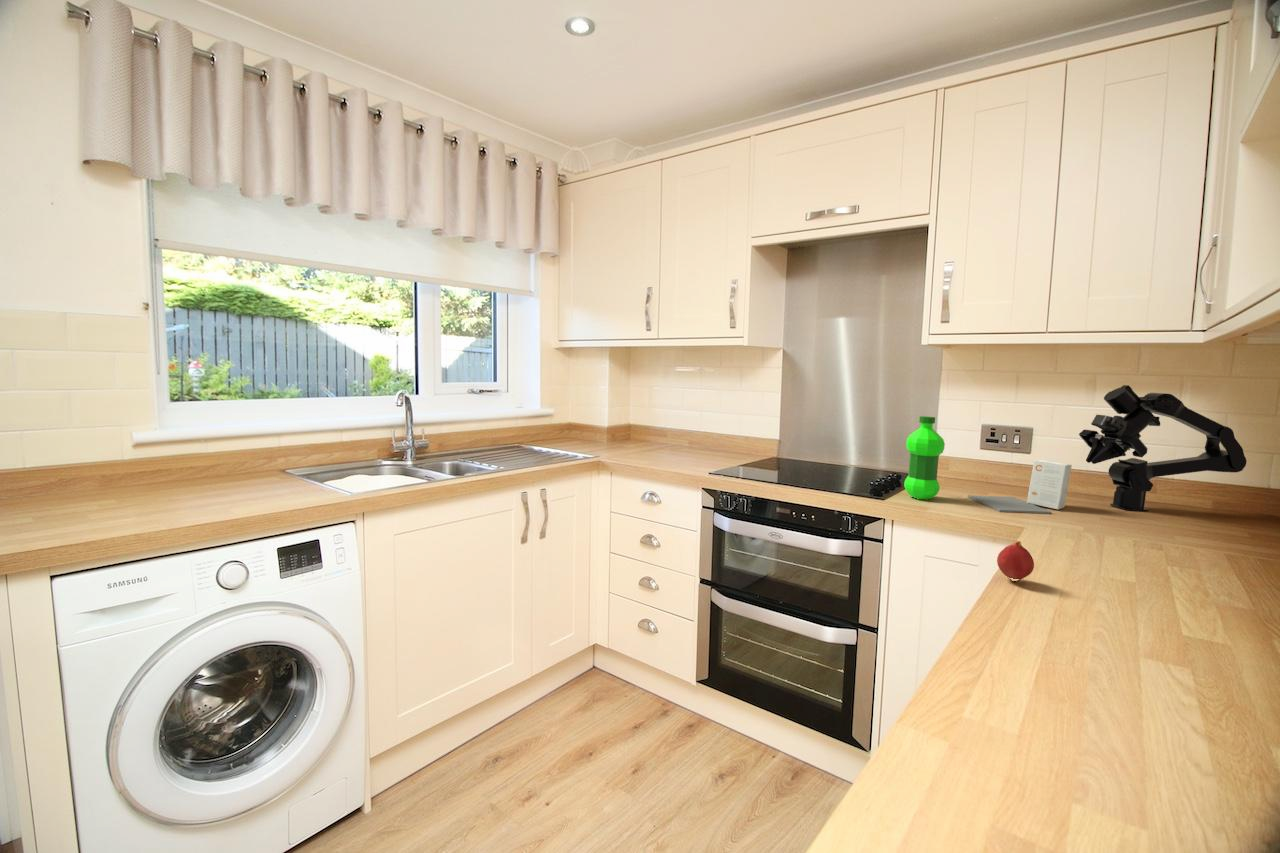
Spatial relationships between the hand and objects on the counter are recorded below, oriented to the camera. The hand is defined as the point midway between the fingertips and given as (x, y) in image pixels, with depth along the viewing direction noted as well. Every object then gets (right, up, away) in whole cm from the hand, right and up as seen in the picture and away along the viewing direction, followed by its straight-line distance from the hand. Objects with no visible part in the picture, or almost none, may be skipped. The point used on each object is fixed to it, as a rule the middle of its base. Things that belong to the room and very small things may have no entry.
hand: (1089, 462), depth 171 cm
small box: (-12, -13, +1) cm, 18 cm away
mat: (-23, -13, +2) cm, 26 cm away
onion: (-61, -19, -61) cm, 88 cm away
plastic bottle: (-46, -12, +8) cm, 48 cm away
